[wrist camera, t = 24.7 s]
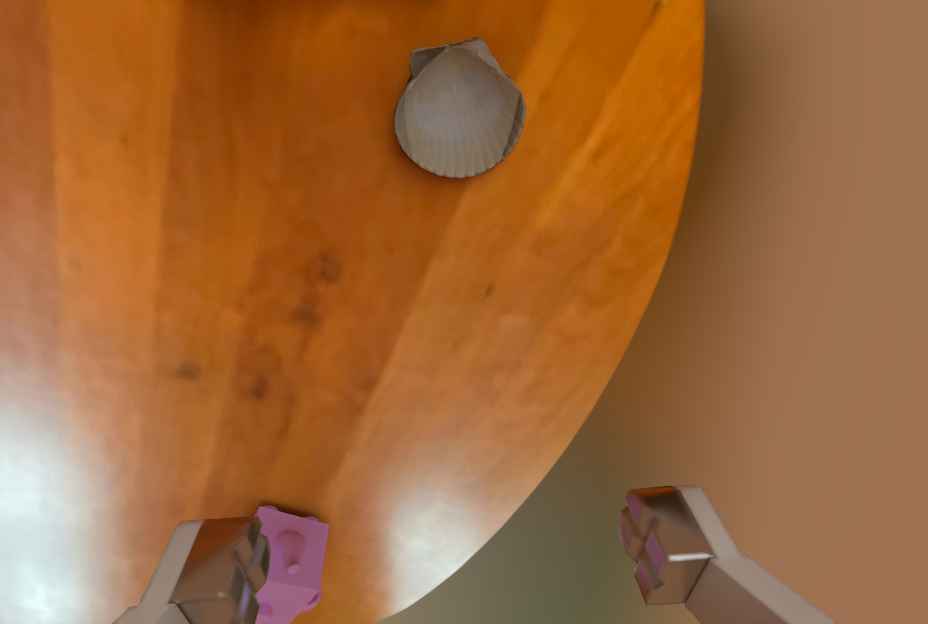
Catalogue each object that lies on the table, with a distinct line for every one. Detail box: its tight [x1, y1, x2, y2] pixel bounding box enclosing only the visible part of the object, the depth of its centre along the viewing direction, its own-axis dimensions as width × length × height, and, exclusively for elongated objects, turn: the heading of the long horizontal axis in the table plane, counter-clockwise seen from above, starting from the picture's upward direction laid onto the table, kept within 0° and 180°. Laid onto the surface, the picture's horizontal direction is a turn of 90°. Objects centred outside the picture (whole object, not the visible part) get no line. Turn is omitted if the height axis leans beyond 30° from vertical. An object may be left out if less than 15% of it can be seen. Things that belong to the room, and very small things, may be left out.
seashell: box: [394, 37, 526, 178], centre depth 29 cm, size 8×3×8 cm
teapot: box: [253, 505, 329, 624], centre depth 49 cm, size 18×13×10 cm
